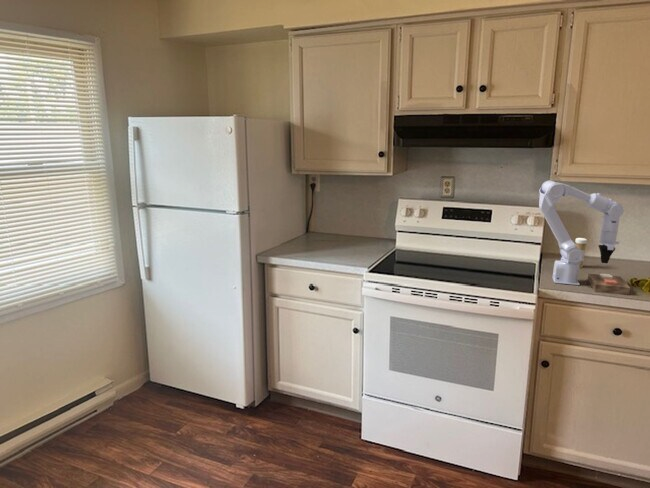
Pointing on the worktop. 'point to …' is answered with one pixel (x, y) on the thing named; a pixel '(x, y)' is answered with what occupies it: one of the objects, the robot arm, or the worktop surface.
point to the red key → (610, 281)
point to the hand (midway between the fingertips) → (604, 262)
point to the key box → (608, 285)
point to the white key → (606, 276)
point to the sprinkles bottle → (581, 247)
